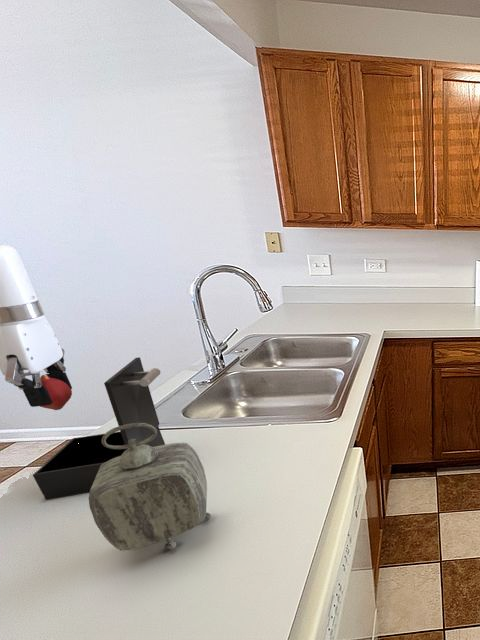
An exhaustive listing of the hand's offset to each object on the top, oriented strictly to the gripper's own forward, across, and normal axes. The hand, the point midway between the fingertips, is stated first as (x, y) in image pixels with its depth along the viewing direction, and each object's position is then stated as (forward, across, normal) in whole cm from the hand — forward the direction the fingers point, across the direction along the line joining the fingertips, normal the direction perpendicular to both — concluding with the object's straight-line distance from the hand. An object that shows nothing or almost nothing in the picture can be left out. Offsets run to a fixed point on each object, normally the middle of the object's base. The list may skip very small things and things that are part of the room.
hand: (52, 396), depth 81 cm
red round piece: (+3, 0, 0) cm, 3 cm away
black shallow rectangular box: (+21, -2, +3) cm, 21 cm away
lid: (+5, -1, +12) cm, 13 cm away
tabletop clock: (+21, +27, +24) cm, 42 cm away
